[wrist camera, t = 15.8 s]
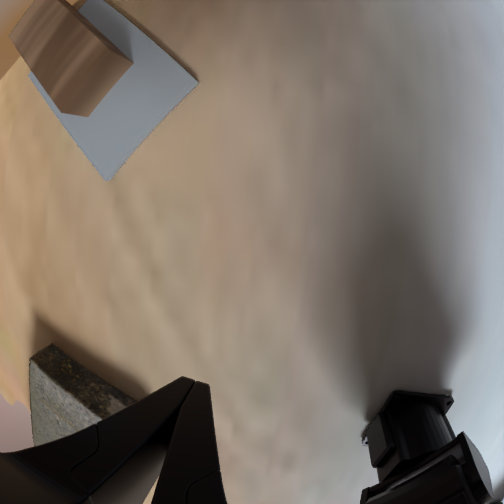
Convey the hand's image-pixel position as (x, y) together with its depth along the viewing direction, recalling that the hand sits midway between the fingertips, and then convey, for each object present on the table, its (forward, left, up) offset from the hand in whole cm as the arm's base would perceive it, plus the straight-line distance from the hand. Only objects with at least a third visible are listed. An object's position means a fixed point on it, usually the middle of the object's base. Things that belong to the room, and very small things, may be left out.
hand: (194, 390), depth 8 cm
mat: (+14, -11, -12) cm, 22 cm away
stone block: (+13, +24, -13) cm, 30 cm away
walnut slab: (+12, -10, -10) cm, 19 cm away
